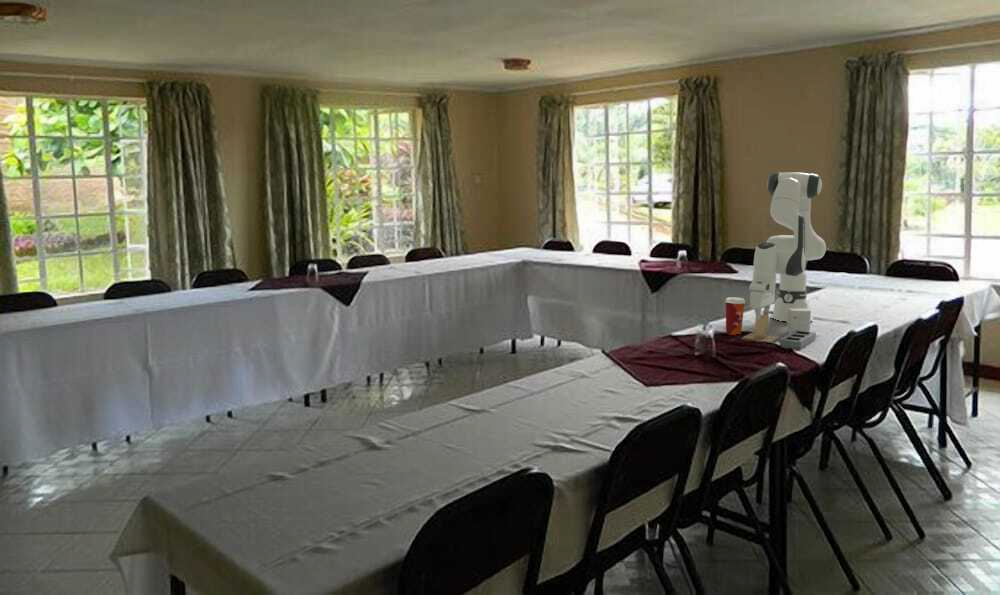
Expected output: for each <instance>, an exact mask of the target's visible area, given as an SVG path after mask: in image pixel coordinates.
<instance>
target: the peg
mask: <svg viewBox="0 0 1000 595" xmlns="http://www.w3.org/2000/svg"><path fill="white" fill-rule="evenodd" d="M769 319H770V315H769V314H768V315H763V313H761V319H760V320H758V319H756V318H755V323H754V324H755V325H754V333H755V337H756V338H763V339H765V338H767V337H768V335H769V321H770V320H769Z"/></svg>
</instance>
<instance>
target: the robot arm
mask: <svg viewBox="0 0 1000 595" xmlns="http://www.w3.org/2000/svg"><path fill="white" fill-rule="evenodd" d="M766 184H767V185H766V187H767V192H768V193H769V195H770V196H772V199H771V202H770V209H769V210H770V211H769V214H770V216H771V218H772V219H773V221H775V222H776V223H777V224H779V225H780V226H782V227H785V228H787V229H789V230H791V231H793V234H792V235H787V234H780V235H773V236H769V237H768V239H767V240H766V242H761V243H758V244H757V245H756V247H755V251H754V257H753V268H754V269H753V273H752V280H751V283H750V284H749V287H748V288H749V291H750V293H749V294H750V295H749V301H750V304H749V305H750V308H751V310H754V312H755V313H754V314H755V320H756V319H758V320H760V319H761V314H762V315H769V311H770V308H771V305H772V304H774V305H773V314H771V315H769V318H770V317H772V318H774V319H773V320H775V319H776V320H775V321H777V320H779V321H778V322H782V321H786V322H785V323H787V319H788V308H802V309H808V310H810V305H809V302H808V301H807V295H808V294H807V292H808V290H807V289H806V286H807V285H806V284H807V273H806V272H805V270H806V264H807V261H814V260H820V259H822V258H824V256H825V253H826V252H827V245H826V242H825V240H824V239H823V238H822V237H821V236H819V235H818V234H817V233H816V232H815V229H813V226H812V223H811V222H812V221H811V209H812V199H814V198H817V197H818V196H820V193H821V192H822V188H823V181H822V178H821V176H820V175H819V174H815V173H806V172H799V171H796V172H795V171H794V172H793V171H792V172H788V171H787V172H781V171H779V172H778V171H777V172H774V173H772V174H770V176H769V178H768V180H767V183H766ZM777 275H779V289H778V292H777V294H778V296H777V297H778V298H777V299H776V296H775V294H776V285H777V284H776V282H777ZM775 299H776V300H775ZM762 309H763V312H762ZM761 312H762V313H761ZM772 318H771V319H772ZM812 320H814V315H812V314H811V316H810V323H812V322H813V321H812ZM811 321H812V322H811Z"/></svg>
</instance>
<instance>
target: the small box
mask: <svg viewBox="0 0 1000 595" xmlns="http://www.w3.org/2000/svg"><path fill="white" fill-rule="evenodd" d="M811 315H812V312H811V310H810V309H809V310H808V309H802V308H788V319H787V322H786V333H787V332H788V333H787V334H790V333H792V332H793V331H795V330H798V331H807V332H811V331H810V330H811V329H810V327H811V322H810V316H811Z"/></svg>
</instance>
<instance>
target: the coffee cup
mask: <svg viewBox="0 0 1000 595" xmlns="http://www.w3.org/2000/svg"><path fill="white" fill-rule="evenodd" d="M724 303H725V334H726V335H730V336H737V335H736V334H740V335H741V334H742V327H743V320H744V310H745V303H746V300H745V298H743V297H737V296H736V297H735V296H732V297H730V296H729V297H727V298H726V299H725V301H724Z"/></svg>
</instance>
